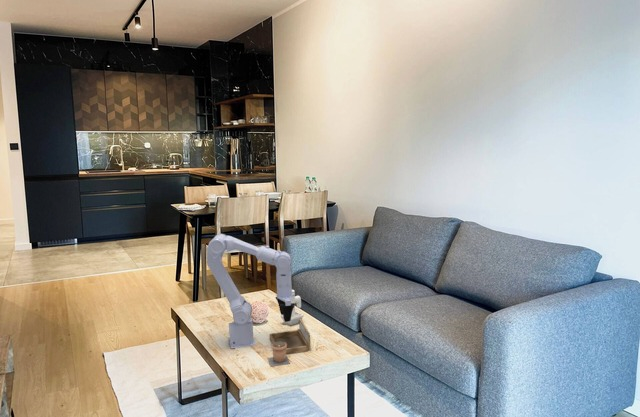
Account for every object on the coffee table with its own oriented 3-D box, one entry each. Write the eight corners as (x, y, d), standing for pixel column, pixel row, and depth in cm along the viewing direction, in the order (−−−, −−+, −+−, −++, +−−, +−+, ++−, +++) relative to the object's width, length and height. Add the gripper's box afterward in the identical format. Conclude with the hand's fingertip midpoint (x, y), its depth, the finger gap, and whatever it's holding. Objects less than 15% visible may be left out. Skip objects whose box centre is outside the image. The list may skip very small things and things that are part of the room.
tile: (270, 368, 171) (270, 366, 171) (267, 359, 178) (267, 357, 177) (290, 365, 173) (290, 363, 172) (286, 356, 179) (286, 355, 179)
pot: (274, 364, 172) (273, 348, 171) (270, 358, 177) (269, 342, 176) (289, 361, 174) (288, 346, 173) (285, 355, 179) (284, 340, 178)
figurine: (306, 322, 211) (304, 289, 209) (288, 328, 205) (287, 294, 203) (295, 318, 217) (294, 285, 215) (278, 324, 211) (276, 290, 209)
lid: (308, 352, 183) (308, 332, 182) (299, 336, 197) (299, 318, 196) (310, 351, 183) (309, 332, 182) (301, 336, 198) (300, 318, 196)
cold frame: (276, 357, 179) (276, 340, 178) (269, 339, 195) (268, 324, 194) (311, 352, 182) (310, 335, 181) (301, 335, 198) (300, 320, 197)
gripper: (298, 288, 183) (299, 323, 185) (290, 277, 197) (291, 310, 199) (279, 290, 181) (281, 325, 183) (273, 279, 195) (274, 312, 197)
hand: (285, 317), depth 191 cm, fingers open, 7 cm apart
